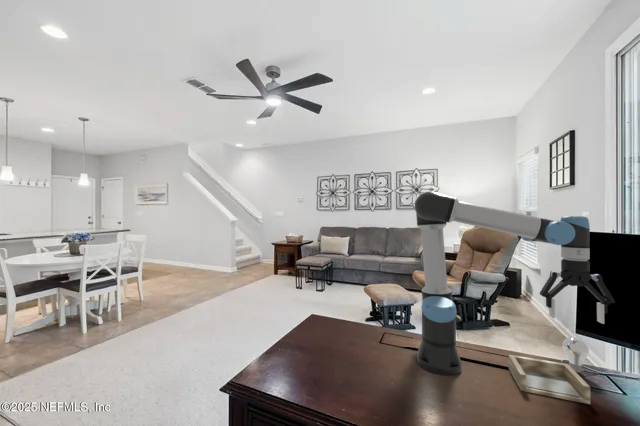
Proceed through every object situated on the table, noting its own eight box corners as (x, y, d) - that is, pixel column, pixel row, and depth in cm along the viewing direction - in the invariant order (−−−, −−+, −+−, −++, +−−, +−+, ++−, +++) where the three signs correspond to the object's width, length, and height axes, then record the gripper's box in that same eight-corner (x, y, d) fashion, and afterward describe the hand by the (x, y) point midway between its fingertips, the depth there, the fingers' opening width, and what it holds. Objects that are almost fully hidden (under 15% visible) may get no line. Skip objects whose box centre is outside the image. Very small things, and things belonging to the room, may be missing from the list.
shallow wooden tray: (520, 390, 86) (520, 374, 87) (508, 368, 99) (508, 354, 100) (590, 404, 80) (590, 386, 80) (567, 379, 93) (567, 364, 93)
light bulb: (594, 379, 93) (594, 343, 94) (570, 376, 95) (570, 341, 95) (579, 368, 100) (579, 335, 101) (557, 366, 102) (557, 333, 102)
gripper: (536, 258, 99) (536, 317, 99) (629, 263, 90) (630, 328, 90) (529, 256, 106) (529, 311, 106) (614, 260, 97) (615, 321, 97)
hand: (575, 319), depth 98 cm, fingers open, 13 cm apart
